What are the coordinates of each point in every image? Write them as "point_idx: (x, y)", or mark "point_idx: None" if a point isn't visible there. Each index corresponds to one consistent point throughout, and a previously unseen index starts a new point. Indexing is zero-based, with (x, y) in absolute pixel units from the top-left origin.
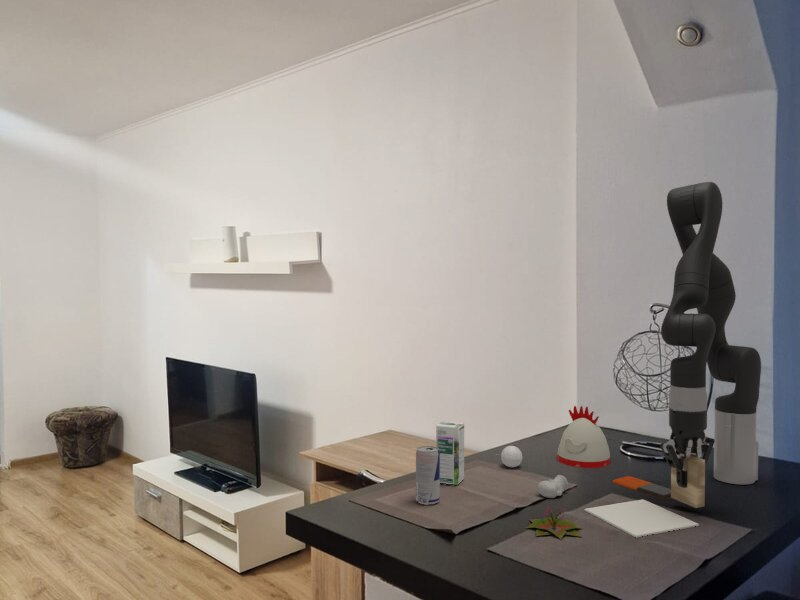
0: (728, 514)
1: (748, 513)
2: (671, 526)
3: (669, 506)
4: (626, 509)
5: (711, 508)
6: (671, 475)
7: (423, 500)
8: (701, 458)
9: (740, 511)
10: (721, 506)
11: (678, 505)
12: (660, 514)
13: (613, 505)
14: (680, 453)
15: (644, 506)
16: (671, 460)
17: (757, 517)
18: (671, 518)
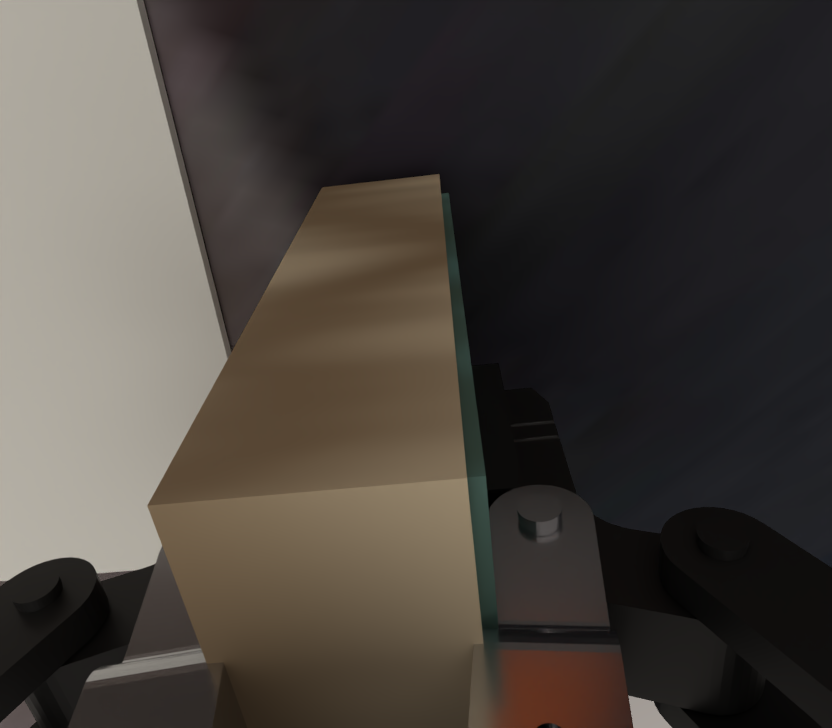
0: (648, 444)
1: (802, 464)
2: (67, 547)
3: (318, 166)
4: None
5: (640, 312)
6: (279, 277)
7: None
8: (708, 698)
9: (790, 421)
10: (761, 296)
11: (419, 167)
12: (98, 355)
13: None
14: (352, 617)
15: (37, 149)
16: (9, 684)
17: (781, 530)
18: (144, 441)
